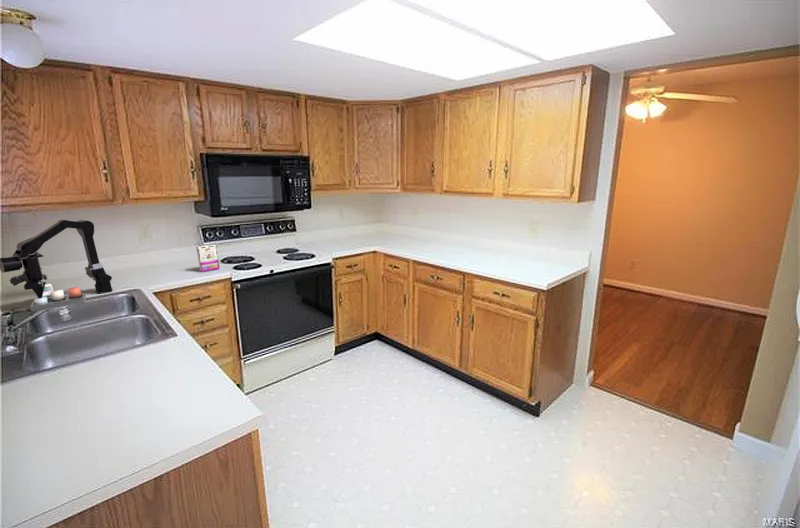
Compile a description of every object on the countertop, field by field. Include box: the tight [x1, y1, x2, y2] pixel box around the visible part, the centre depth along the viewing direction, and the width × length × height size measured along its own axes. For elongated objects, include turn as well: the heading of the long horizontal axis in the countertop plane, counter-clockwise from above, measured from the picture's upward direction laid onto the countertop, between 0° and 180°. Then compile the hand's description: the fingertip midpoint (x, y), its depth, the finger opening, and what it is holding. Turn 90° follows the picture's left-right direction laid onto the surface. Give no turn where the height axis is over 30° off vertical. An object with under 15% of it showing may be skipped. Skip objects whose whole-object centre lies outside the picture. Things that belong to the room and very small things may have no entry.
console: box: [29, 292, 87, 312], centre depth 188 cm, size 20×10×2 cm, turn 127°
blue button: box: [33, 297, 48, 304], centre depth 184 cm, size 5×5×4 cm
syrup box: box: [34, 283, 54, 299], centre depth 192 cm, size 6×6×14 cm
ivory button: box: [51, 289, 66, 300], centre depth 188 cm, size 5×5×4 cm
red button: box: [67, 286, 82, 298], centre depth 191 cm, size 5×5×4 cm
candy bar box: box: [195, 244, 220, 273], centre depth 247 cm, size 11×5×16 cm, turn 131°
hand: (40, 298), depth 184 cm, fingers closed, pressing on blue button
